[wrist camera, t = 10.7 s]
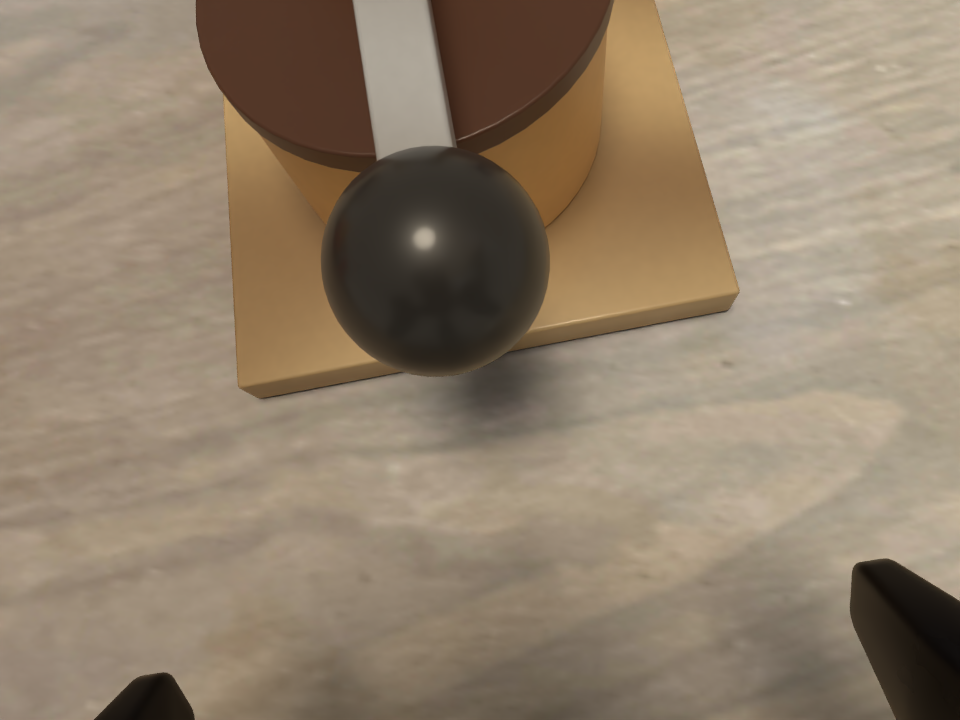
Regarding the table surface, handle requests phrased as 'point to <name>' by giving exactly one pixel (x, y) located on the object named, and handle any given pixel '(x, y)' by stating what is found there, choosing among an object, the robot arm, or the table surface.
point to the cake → (468, 76)
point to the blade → (428, 219)
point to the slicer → (571, 235)
